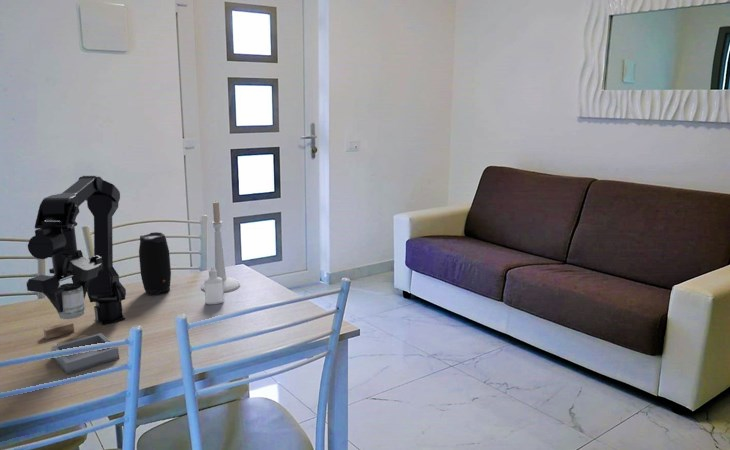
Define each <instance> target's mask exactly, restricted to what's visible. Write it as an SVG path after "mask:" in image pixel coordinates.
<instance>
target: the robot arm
mask: <svg viewBox="0 0 730 450" xmlns="http://www.w3.org/2000/svg"><path fill="white" fill-rule="evenodd" d="M120 199H121V192H120V190H119V189H118V187H117V186H116V185H115V184H113V183H111V182H109V181H107V180H104V179H103V178H102V177H101V176H98V175H82V176H80V177H79V178H78V180H77V181H76V182H75V183H73V184H72V185H70V186H69V187H68V188H66V190H64V191H62V192H61V193H57V194H56V193H55V194H51V195H49V196H47V197H44V198H43V199H42V200H41V202H40V203H39V207H38V211H37V216H36V219H35V224H34V229H35V230H34V235H33V236H32V237H31V238H30V239H29V241H28V244H27V249H28V252H29V253H30V255H31V256H33V257H34V258H35V259H38V260H45V259H48V258H51V263H52V268H50V269H49V274H53V275H44V274H39V275H36V276H33V277H31V278H28V280H27V281H26V290H27V292H35V293H42V294H43V295H45V297H46V298H47V299H48V301H49V302H50V303H51V304H52V306H53V307H54V308H55V309H56V312H57V311H58V312H63V303H62V292H63V290H64V289H65V287H60V286H61V282H62V281H65V280H68V279H70V278H71V282H72V283H75V284H80V285H81V286H82V287H83V294H84V300H85V299H86V296H87V297H88V299H89V303H95V305H94V307H93V310H94V316H95V317H94V318H95V320H96V321H97V322H99V324H101V325H108V324H112V323H116V322H119V321H123V320H126V316H124V313H123V304H122V301H124V300H126V295H127V293H126V292H127V291H126V290H127V289H126V288H125V287H124V286H123V284H122V283H121V282H120V275H119V274H118V272H117V270H116V269H115V268H114V266H113V265H114V264H113V258H114V257H113V253H114V252H113V248H114V247H113V245H114V244H113V216H114V215H115V213H116V211H117V210H118V208H119V202H120ZM85 201H86V204H87V208H88V210H89V211H90V213H91V214H92V216H93V255H94V256H92V257H91V258H90V257H85V256H84V255H83V252H82V250H81V249H78V247H77V245H78V244H77V236H76V235H77V234H76V230H75V229H76V228H75V227H76V226H78V222H76V218H77V216H78V215H79V213H80V208H79V207H80V206H81V205H82V204H83V203H85ZM58 312H57V313H58Z"/></svg>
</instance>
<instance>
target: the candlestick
mask: <svg viewBox="0 0 730 450" xmlns="http://www.w3.org/2000/svg"><path fill="white" fill-rule="evenodd" d="M212 211H213V212H212V213H213V221H211V223H212V224H213V225H212V227H213V228H214V269H215V270H217V277H220V278H222V280H223V294H224V293H230V292H233V291H235V290H237V289H239V288H240V287H241V283H240V281H239V280H238V279H236V278H234V277H229V276H227V275H226V267H225V258H224V248H223V241H222V231H221V228H222V223H223V220H221V217H220V216H221V214H220V202H219V201H216V200H215V201H213V202H212ZM201 290H202V291H204V292H205V285H204V283H202V285H201Z"/></svg>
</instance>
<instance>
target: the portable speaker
mask: <svg viewBox="0 0 730 450" xmlns="http://www.w3.org/2000/svg"><path fill="white" fill-rule="evenodd" d="M138 247H139V248H138V258H139V267H140V268H139V270H140V276H141V281H142V285H143V288H144V291H145V293H146V295H148V296H158V295H159V294H160V293H163V292H166V293H168V292H170V291H171V279H172V271H171V269H172V268H171V258H170V256H171V255H170V250H169V246H168V242H167V238H166V235H165V234H163V232H157V231H154V232H150V233H148V234H144V235H140V236H139V246H138Z"/></svg>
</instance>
